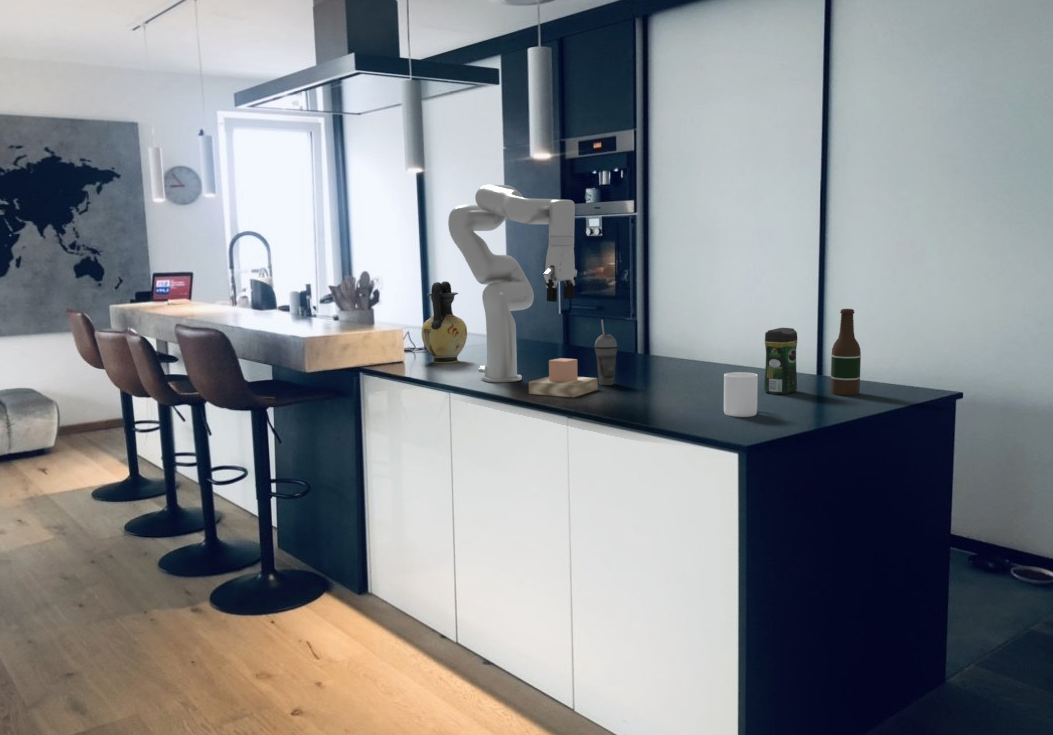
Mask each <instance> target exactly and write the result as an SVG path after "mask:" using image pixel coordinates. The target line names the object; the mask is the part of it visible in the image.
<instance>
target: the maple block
mask: <svg viewBox="0 0 1053 735" xmlns="http://www.w3.org/2000/svg"><path fill="white" fill-rule="evenodd" d="M598 385H599V379H598V378H597V377H587V376H586V377H585V376H577V380H573V381H568V382H560V381H550V380H549V376H545V377H542V378H539V379H535V380H532V381H528V394H529V395H530V394H531V395H542V396H553V397H566V398H576V397H579V396H582V395H585V394H588V393H591V392H594V391H598V388H599V387H598Z"/></svg>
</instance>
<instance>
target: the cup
mask: <svg viewBox="0 0 1053 735" xmlns="http://www.w3.org/2000/svg"><path fill="white" fill-rule="evenodd" d="M758 376H759V375H758V374H757V373H753V372H745V371H743V372H742V371H738V372H726V373H724V374H723V413H724V414H725V416H728V417H737V418H747V417H754V416H756V415H757V413H758V385H759V384H758V382H759V381H758Z"/></svg>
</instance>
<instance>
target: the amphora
mask: <svg viewBox="0 0 1053 735" xmlns="http://www.w3.org/2000/svg"><path fill="white" fill-rule="evenodd" d="M456 295H459V292H454V291H453V292H452V285H451V283H450V282H449V281H441V282H439V281H436V282H435V281H434V282H433V284H432V286H431V292H430V293H427V294H426V296H429V297H430V299H431V300H430V301H431V303H432V310H433V312H432V313H433V316H431V317H430V318H428V319H427V320H425V321H424V323H423V324H422V327H421V340H422V342H423V345H424V347H425V349H426V351H427V352H428V353H429V354H430V355H431V356H432V357H433V363H434V364H454V362H455V363H458V362H459V359H458V356H459V355H460V353H461V352H463V349H464V348H465V345H466V342H467V339H468V328H467V324H466V322H465V321H464V320H463V319H462V318H460V317H459V316H456V315H454V314H453V313H454V312H453V309H452V308H453V307H452V305H453V304H452V303H454V300H455V297H456Z"/></svg>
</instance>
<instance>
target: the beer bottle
mask: <svg viewBox="0 0 1053 735" xmlns="http://www.w3.org/2000/svg"><path fill="white" fill-rule="evenodd" d="M839 313H840V314H841V315H840V324H839V325H840V326H839V333H838V337H837V339H836V340H835V342H834V344H833V346H832V349H831V356H830V357H831V361H830V362H831V364H830V366H831V368H830V393H831V394H833V395H835V396H844V397H848V396H852V397H853V396H857V395H859V394H860V386H861V358H862V357H861V356H862V355H861V354H862V353H861V351H862V350H861V347H860V344H859V342H858V340H857V339H856V337H855V326H854V314H855V309H853V308H841V309H840V312H839Z"/></svg>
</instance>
